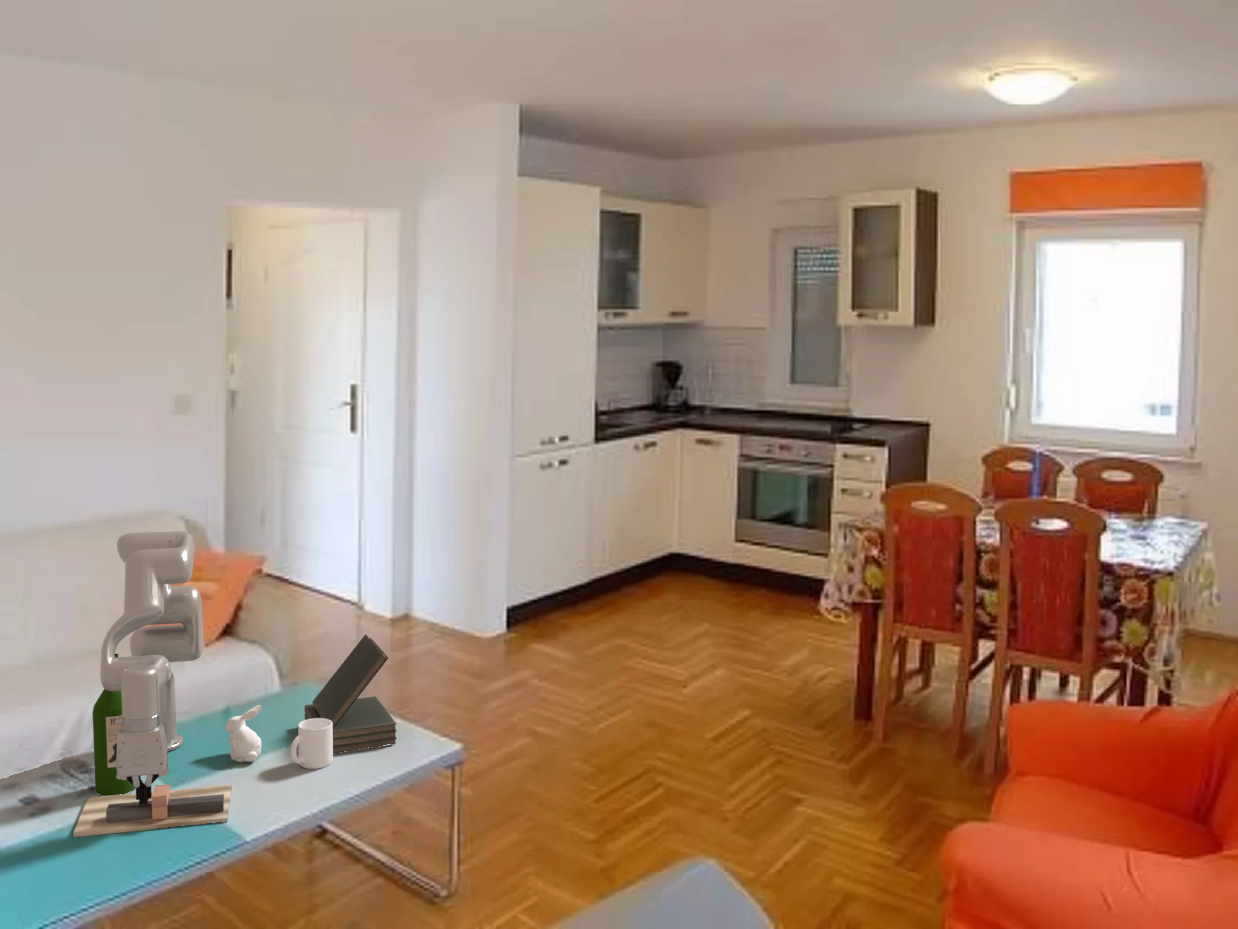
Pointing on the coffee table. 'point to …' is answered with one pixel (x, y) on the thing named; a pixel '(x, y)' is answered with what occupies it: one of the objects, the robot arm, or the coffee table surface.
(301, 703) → the coffee table surface
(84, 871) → the coffee table surface
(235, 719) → the rabbit
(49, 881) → the coffee table surface
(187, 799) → the bar
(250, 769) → the coffee table surface
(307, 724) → the mug
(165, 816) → the brown arch block
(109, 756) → the wine bottle
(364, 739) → the stack of books
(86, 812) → the board
